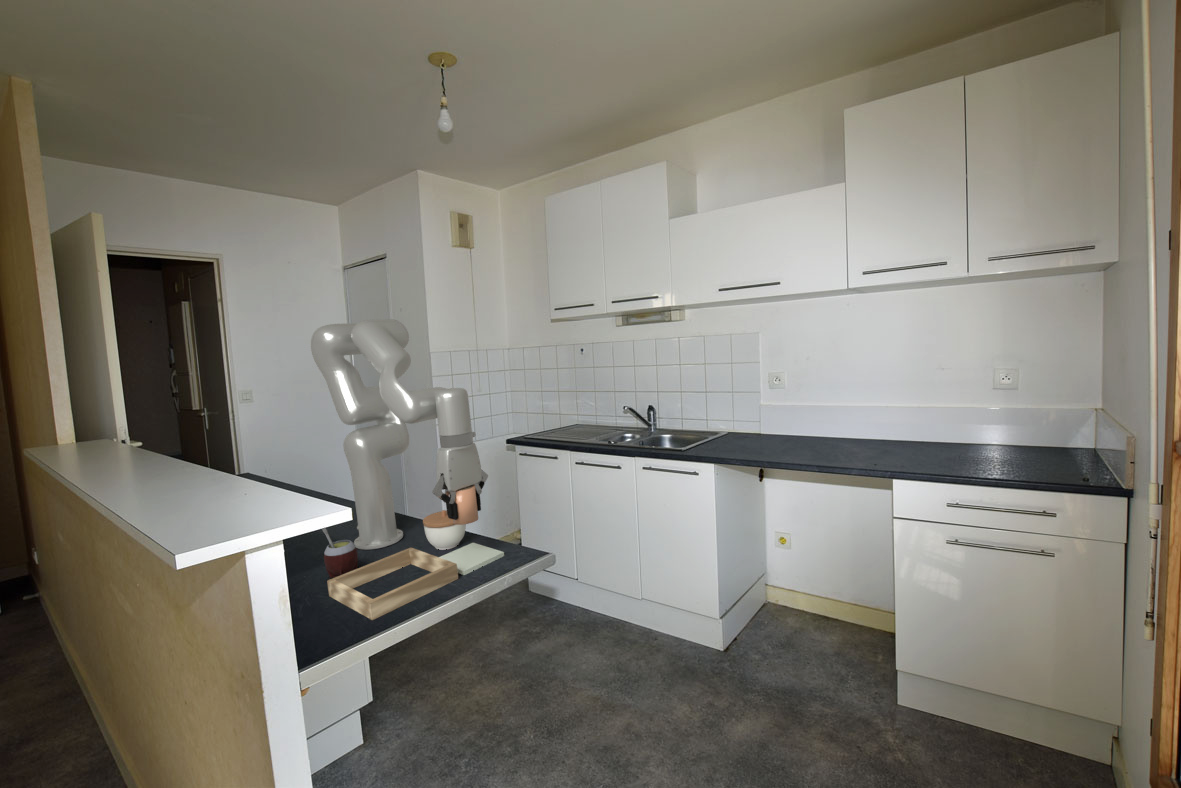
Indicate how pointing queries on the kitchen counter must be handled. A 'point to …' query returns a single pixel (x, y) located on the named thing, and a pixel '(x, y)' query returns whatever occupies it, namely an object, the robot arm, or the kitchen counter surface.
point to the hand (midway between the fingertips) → (464, 513)
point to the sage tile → (472, 557)
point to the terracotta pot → (466, 505)
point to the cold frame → (398, 597)
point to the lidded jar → (443, 530)
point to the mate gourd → (340, 557)
